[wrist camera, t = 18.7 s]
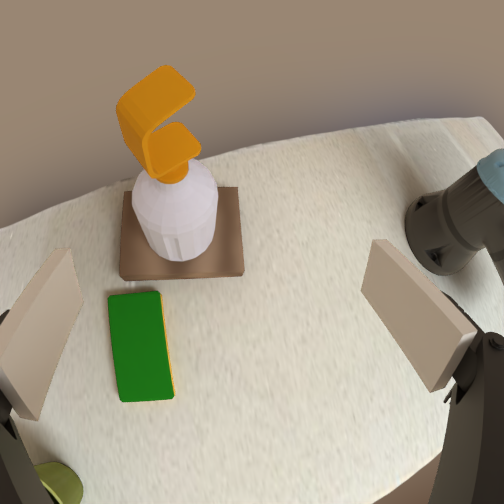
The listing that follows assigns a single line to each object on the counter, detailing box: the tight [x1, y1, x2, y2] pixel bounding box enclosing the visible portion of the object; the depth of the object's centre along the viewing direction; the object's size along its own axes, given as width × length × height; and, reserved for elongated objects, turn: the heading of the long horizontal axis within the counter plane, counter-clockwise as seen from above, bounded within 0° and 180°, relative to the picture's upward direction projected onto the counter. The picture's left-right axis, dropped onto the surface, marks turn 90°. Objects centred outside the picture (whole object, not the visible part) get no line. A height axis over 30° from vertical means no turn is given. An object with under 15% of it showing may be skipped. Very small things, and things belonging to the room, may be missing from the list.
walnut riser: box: [120, 187, 245, 281], centre depth 42 cm, size 16×12×3 cm
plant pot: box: [34, 462, 83, 504], centre depth 24 cm, size 12×12×11 cm
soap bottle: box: [116, 65, 218, 261], centre depth 29 cm, size 9×9×25 cm
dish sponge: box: [108, 291, 175, 402], centre depth 37 cm, size 7×14×2 cm, turn 9°
